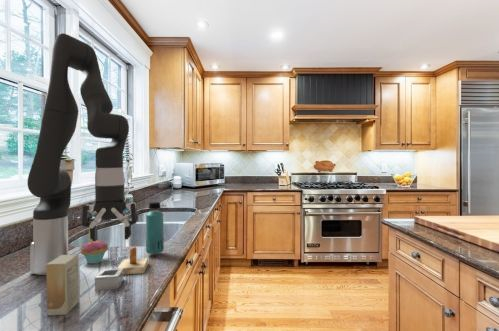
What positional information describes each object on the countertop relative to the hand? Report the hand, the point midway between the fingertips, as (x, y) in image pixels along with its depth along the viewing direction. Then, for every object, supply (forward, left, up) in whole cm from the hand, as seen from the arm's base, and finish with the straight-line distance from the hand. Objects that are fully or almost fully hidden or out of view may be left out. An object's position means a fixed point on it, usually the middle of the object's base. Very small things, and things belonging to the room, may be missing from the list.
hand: (111, 239), depth 81 cm
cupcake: (-11, +21, -13) cm, 27 cm away
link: (0, 0, -13) cm, 13 cm away
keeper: (+4, +11, -13) cm, 17 cm away
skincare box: (-7, -12, -13) cm, 19 cm away
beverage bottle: (+9, +24, -13) cm, 28 cm away
